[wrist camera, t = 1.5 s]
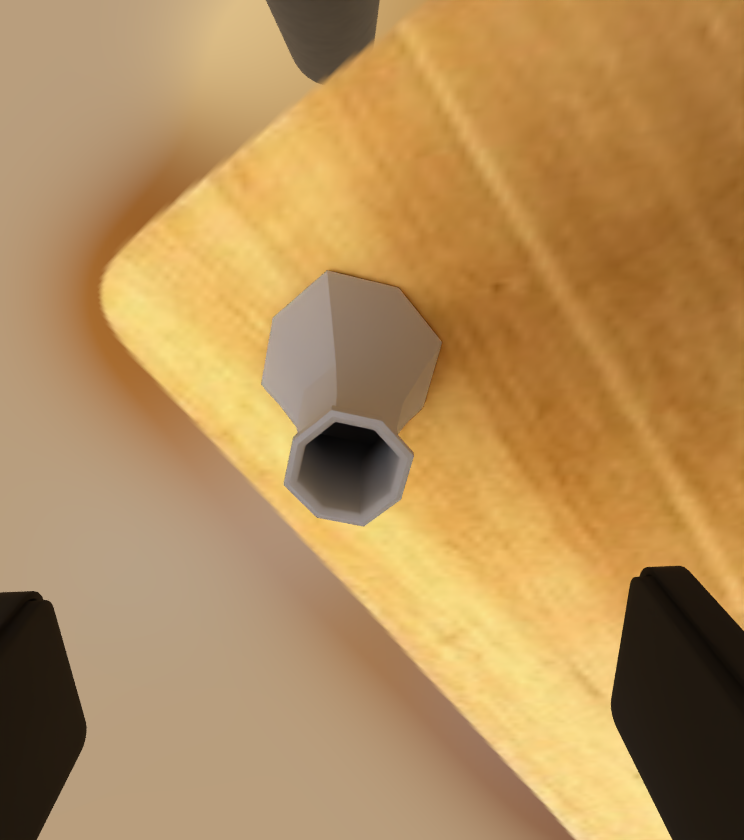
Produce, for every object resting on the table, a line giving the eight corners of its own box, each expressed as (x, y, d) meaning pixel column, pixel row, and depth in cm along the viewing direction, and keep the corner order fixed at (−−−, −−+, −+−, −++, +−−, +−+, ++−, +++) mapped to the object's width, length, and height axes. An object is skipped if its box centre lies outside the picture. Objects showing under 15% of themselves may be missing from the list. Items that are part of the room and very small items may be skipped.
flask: (232, 388, 24) (155, 514, 15) (319, 235, 22) (292, 268, 12) (378, 468, 25) (391, 626, 16) (471, 333, 23) (549, 427, 14)
